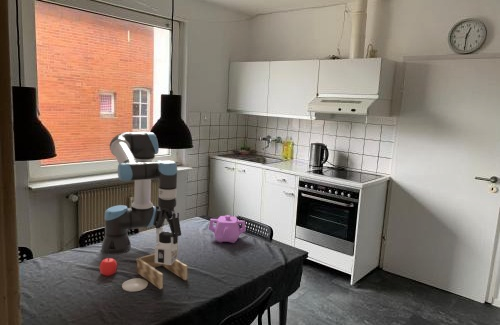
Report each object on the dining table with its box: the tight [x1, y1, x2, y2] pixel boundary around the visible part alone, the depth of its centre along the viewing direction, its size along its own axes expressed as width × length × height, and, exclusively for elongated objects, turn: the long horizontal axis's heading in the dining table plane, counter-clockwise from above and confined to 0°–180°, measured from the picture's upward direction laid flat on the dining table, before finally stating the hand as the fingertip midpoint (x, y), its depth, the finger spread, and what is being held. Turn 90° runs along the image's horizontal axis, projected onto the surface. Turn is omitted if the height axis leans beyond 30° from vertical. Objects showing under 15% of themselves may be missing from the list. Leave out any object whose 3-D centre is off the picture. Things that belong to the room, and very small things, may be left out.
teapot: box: [208, 214, 246, 244], centre depth 228 cm, size 19×18×15 cm
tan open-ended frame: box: [136, 252, 188, 290], centre depth 180 cm, size 21×14×7 cm
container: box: [154, 230, 179, 265], centre depth 166 cm, size 8×8×13 cm
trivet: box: [121, 277, 149, 293], centre depth 170 cm, size 11×11×1 cm
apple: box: [99, 257, 118, 277], centre depth 179 cm, size 8×8×8 cm
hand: (166, 245), depth 166 cm, fingers closed on container, 10 cm apart
